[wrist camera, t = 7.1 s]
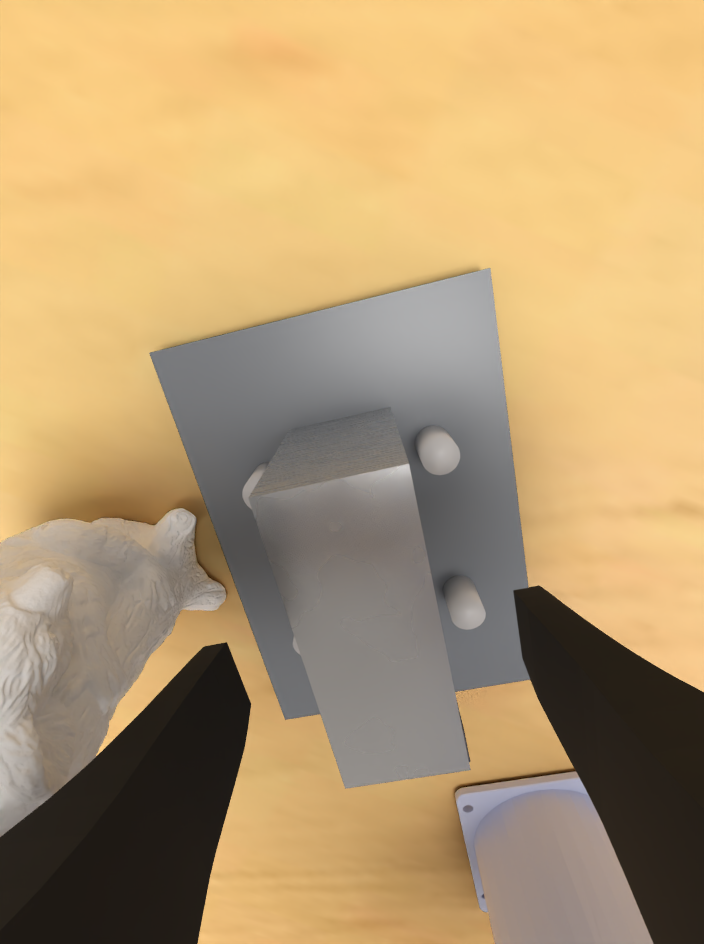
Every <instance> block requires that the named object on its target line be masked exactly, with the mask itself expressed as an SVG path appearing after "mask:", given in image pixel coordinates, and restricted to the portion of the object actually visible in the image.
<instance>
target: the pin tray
mask: <svg viewBox="0 0 704 944" xmlns="http://www.w3.org/2000/svg"><path fill="white" fill-rule="evenodd" d="M150 356H151V359H152V361H153V364H154V367H155V370H156V372H157V375H158V378H159V380H160V383H161V386H162V388H163V391H164V394H165V397H166V399H167V402H168V405H169V407H170V410H171V413H172V415H173V418H174V421H175V424H176V426H177V429H178V432H179V434H180V437H181V440H182V442H183V445H184V448H185V451H186V453H187V456H188V459H189V461H190V464H191V467H192V469H193V472H194V475H195V478H196V480H197V483H198V486H199V488H200V491H201V494H202V496H203V499H204V502H205V504H206V507H207V510H208V513H209V515H210V518H211V521H212V523H213V526H214V529H215V531H216V534H217V537H218V540H219V542H220V545H221V548H222V550H223V553H224V556H225V558H226V561H227V564H228V567H229V569H230V572H231V575H232V577H233V580H234V583H235V585H236V588H237V591H238V594H239V596H240V599H241V602H242V604H243V607H244V610H245V612H246V615H247V618H248V621H249V623H250V626H251V629H252V631H253V634H254V637H255V639H256V642H257V645H258V648H259V650H260V653H261V656H262V658H263V661H264V664H265V666H266V669H267V672H268V675H269V677H270V680H271V683H272V685H273V688H274V691H275V693H276V696H277V699H278V701H279V704H280V707H281V710H282V712H283V715H284V718H285V720H287V719H293V718H299V717H305V716H311V715H317V714H320V711H319V708H318V705H317V702H316V699H315V696H314V693H313V690H312V687H311V684H310V681H309V678H308V675H307V672H306V669H305V666H304V663H303V660H302V657H301V654H300V651H299V648H298V646H297V643H296V640H295V637H294V634H293V631H292V628H291V625H290V622H289V619H288V616H287V613H286V610H285V607H284V604H283V601H282V598H281V595H280V592H279V589H278V586H277V583H276V580H275V577H274V574H273V571H272V568H271V565H270V562H269V559H268V556H267V553H266V550H265V547H264V544H263V541H262V538H261V535H260V532H259V529H258V526H257V523H256V520H255V517H254V514H253V511H252V508H251V505H250V502H249V499H248V497H249V496H250V494H251V493H252V491H253V489H254V488H255V486H256V484H257V483H258V481H259V479H260V478H261V476H262V474H263V473H264V471H265V469H266V468H267V466H268V464H269V463H270V461H271V459H272V458H273V456H274V454H275V453H276V451H277V450H278V448H279V446H280V445H281V443H282V441H283V440H284V438H285V436H286V435H287V433H288V431H289V430H290V429H294V428H299V427H303V426H307V425H312V424H316V423H321V422H325V421H330V420H334V419H338V418H343V417H347V416H352V415H356V414H361V413H365V412H370V411H374V410H378V409H383V408H387V407H391V410H392V413H393V416H394V419H395V422H396V425H397V428H398V431H399V434H400V437H401V441H402V444H403V447H404V450H405V453H406V456H407V459H408V462H409V466H410V471H411V476H412V481H413V486H414V491H415V496H416V501H417V506H418V511H419V516H420V521H421V526H422V531H423V536H424V541H425V546H426V551H427V555H428V560H429V565H430V570H431V575H432V580H433V585H434V590H435V595H436V600H437V605H438V610H439V615H440V620H441V625H442V630H443V635H444V640H445V645H446V650H447V655H448V660H449V665H450V670H451V675H452V680H453V685H454V690H455V692H457V691H463V690H469V689H475V688H481V687H487V686H493V685H500V684H506V683H512V682H518V681H524V680H530V677H529V674H528V672H527V669H526V667H525V664H524V661H523V659H522V652H521V645H520V637H519V630H518V622H517V615H516V608H515V600H514V593H513V590H518V589H523V588H528V580H527V572H526V563H525V555H524V547H523V538H522V530H521V522H520V513H519V505H518V496H517V488H516V480H515V471H514V463H513V455H512V446H511V438H510V429H509V421H508V413H507V404H506V396H505V388H504V379H503V371H502V362H501V354H500V346H499V337H498V329H497V321H496V312H495V304H494V295H493V287H492V279H491V270H490V268H488V269H484V270H480V271H476V272H472V273H468V274H464V275H460V276H456V277H452V278H448V279H444V280H440V281H436V282H432V283H428V284H424V285H420V286H416V287H412V288H408V289H404V290H400V291H396V292H392V293H388V294H384V295H380V296H376V297H372V298H368V299H364V300H360V301H356V302H352V303H348V304H344V305H340V306H336V307H332V308H328V309H324V310H320V311H316V312H312V313H308V314H304V315H300V316H296V317H292V318H288V319H284V320H280V321H276V322H272V323H268V324H264V325H260V326H256V327H252V328H247V329H243V330H239V331H235V332H231V333H227V334H223V335H219V336H215V337H211V338H207V339H203V340H199V341H195V342H191V343H187V344H183V345H179V346H175V347H171V348H167V349H163V350H159V351H155V352H151V353H150Z"/></svg>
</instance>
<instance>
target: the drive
mask: <svg viewBox="0 0 704 944" xmlns="http://www.w3.org/2000/svg"><path fill="white" fill-rule="evenodd" d="M248 499H249V502H250V505H251V508H252V511H253V514H254V517H255V520H256V523H257V526H258V529H259V532H260V535H261V538H262V541H263V544H264V547H265V550H266V553H267V556H268V559H269V562H270V565H271V568H272V571H273V574H274V577H275V580H276V583H277V586H278V589H279V592H280V595H281V598H282V601H283V604H284V607H285V610H286V613H287V616H288V619H289V622H290V625H291V628H292V631H293V634H294V637H295V640H296V643H297V646H298V648H299V651H300V654H301V657H302V660H303V663H304V666H305V669H306V672H307V675H308V678H309V681H310V684H311V687H312V690H313V693H314V696H315V699H316V702H317V705H318V708H319V711H320V714H321V717H322V720H323V723H324V726H325V729H326V732H327V735H328V738H329V741H330V744H331V747H332V750H333V753H334V756H335V759H336V762H337V765H338V768H339V771H340V774H341V777H342V780H343V783H344V786H345V789H346V788H352V787H359V786H366V785H373V784H379V783H386V782H393V781H400V780H406V779H413V778H420V777H427V776H433V775H440V774H447V773H454V772H460V771H467V770H470V765H469V762H470V758H469V753H468V748H467V743H466V738H465V733H464V728H463V724H462V720H461V716H460V712H459V708H458V704H457V700H456V695H455V690H454V685H453V680H452V675H451V670H450V665H449V660H448V655H447V650H446V645H445V640H444V635H443V630H442V625H441V620H440V615H439V610H438V605H437V600H436V595H435V590H434V585H433V580H432V575H431V570H430V565H429V560H428V555H427V551H426V546H425V541H424V536H423V531H422V526H421V521H420V516H419V511H418V506H417V501H416V496H415V491H414V486H413V481H412V476H411V471H410V466H409V462H408V459H407V456H406V453H405V450H404V447H403V444H402V441H401V437H400V434H399V431H398V428H397V425H396V422H395V419H394V416H393V413H392V410H391V407H387V408H383V409H378V410H374V411H370V412H365V413H361V414H356V415H352V416H347V417H343V418H338V419H334V420H330V421H325V422H321V423H316V424H312V425H307V426H303V427H299V428H294V429H290V430H289V431H288V433H287V435H286V436H285V438H284V440H283V441H282V443H281V445H280V446H279V448H278V450H277V451H276V453H275V454H274V456H273V458H272V459H271V461H270V463H269V464H268V466H267V468H266V469H265V471H264V473H263V474H262V476H261V478H260V479H259V481H258V483H257V484H256V486H255V488H254V489H253V491H252V493H251V494H250V496H249V497H248Z"/></svg>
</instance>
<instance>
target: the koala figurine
mask: <svg viewBox="0 0 704 944" xmlns="http://www.w3.org/2000/svg"><path fill="white" fill-rule="evenodd" d="M196 521H197V520H196V517H195V516H194V515H193V514H192V513H191V512H189V511H187V510H185V509H184V508H178V509H174V510H171V511H170V512H167V513H166V515H165V516H164V517H163V518H162V519H161V520H160V521H159V522H158V523H157V524H156V525H149V524H147V523H142V522H137V521H128V520H124V519H122V518H100V519H99V520H95V521H93V522H91V523H89V522H85V521H82V520H77V519H67V518H66V519H57V520H52V521H47V522H45V523H43V524H41V525H39V526H37V527H32V528H31V529H28V530H26V531H24V532H21V533H19V534H17V535H14V536H12V537H9V538H7V539H5V540H3V541H2V542H0V837H1V836H2V835H3V834H5V833H6V832H7V831H8V830H10V829H11V828H12V827H14V826H15V825H16V824H17V823H19V822H20V821H21V820H22V819H24V818H25V817H26V816H28V815H29V814H30V813H31V812H33V811H34V810H35V809H36V808H38V807H39V806H40V805H41V804H43V803H44V802H45V801H46V800H48V799H49V798H50V797H51V796H52V795H54V794H55V793H56V792H57V791H58V790H59V789H61V788H62V787H63V786H64V785H65V784H66V783H67V782H69V781H70V780H71V779H72V778H73V777H74V776H76V775H77V774H78V773H79V772H80V771H81V770H82V769H83V768H84V767H86V766H87V765H88V764H89V763H90V762H91V761H92V760H93V759H94V758H95V757H96V754H97V753H98V750H99V748H100V746H101V744H102V743H103V741H104V738H105V736H106V735H107V731H108V728H109V721H110V720H111V718H112V716H113V714H114V712H115V709H116V706H117V704H118V703H119V701H120V700H121V699H122V698H123V697H124V696H125V694H126V693H127V691H128V690H129V689H130V688H131V686H132V684H133V683H134V682H135V681H136V680H137V679H138V677H139V675H140V674H141V672H142V670H143V668H144V665H145V663H146V661H147V660H148V658H149V656H150V655H151V654H152V653H153V652H154V651H155V650H156V649H157V648H158V647H159V646H160V645H161V644H162V643H163V642H164V640H165V639H166V637H167V636H169V635H170V634H171V632H172V630H173V627H174V625H175V621H176V618H177V617H178V615H179V613H180V611H181V610H183V609H185V610H204V611H211V610H212V611H213V610H216V609H218V608H219V605H221V604H222V603H223V602H224V601H225V599H226V596H227V595H226V591H225V588H224V587H223V586H222V584H220V583H218V582H217V581H214V580H212V579H211V578H208V576H207V574H206V572H205V571H204V570H203V568H202V567H201V566H199V564H198V563H197V559H196V553H195V545H194V538H195V525H196Z"/></svg>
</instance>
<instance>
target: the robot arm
mask: <svg viewBox="0 0 704 944" xmlns="http://www.w3.org/2000/svg"><path fill="white" fill-rule="evenodd" d="M513 593H514V600H515V608H516V615H517V622H518V630H519V637H520V645H521V652H522V659H523V661H524V664H525V667H526V669H527V672H528V674H529V677H530V680H531V682H532V685H533V687H534V690H535V692H536V695H537V697H538V700H539V702H540V703H541V705H542V707H543V709H544V711H545V713H546V715H547V717H548V719H549V721H550V723H551V725H552V727H553V728H554V730H555V732H556V734H557V736H558V738H559V740H560V742H561V744H562V746H563V747H564V749H565V751H566V753H567V755H568V757H569V759H570V761H571V763H572V765H573V766H574V768H575V770H576V771H574V772H567V773H560V774H553V775H546V776H539V777H532V778H525V779H518V780H511V781H504V782H498V783H491V784H484V785H477V786H470V787H463V788H460V789H458V790H457V791H456V793H455V799H456V804H457V808H458V813H459V817H460V822H461V826H462V831H463V835H464V840H465V844H466V849H467V853H468V858H469V862H470V867H471V871H472V876H473V880H474V885H475V889H476V894H477V898H478V903H479V907H480V909H481V910H482V911H484V912H488V914H489V919H490V924H491V928H492V933H493V938H494V942H495V944H704V692H702V691H700V690H698V689H696V688H695V687H693V686H691V685H689V684H687V683H685V682H683V681H681V680H679V679H678V678H676V677H674V676H672V675H670V674H669V673H667V672H665V671H663V670H662V669H660V668H658V667H656V666H655V665H653V664H651V663H650V662H648V661H647V660H645V659H643V658H642V657H640V656H638V655H637V654H635V653H634V652H632V651H630V650H629V649H627V648H626V647H624V646H623V645H621V644H620V643H618V642H617V641H615V640H614V639H612V638H611V637H609V636H608V635H606V634H605V633H604V632H602V631H601V630H599V629H598V628H596V627H595V626H593V625H592V624H591V623H589V622H588V621H586V620H585V619H584V618H582V617H581V616H579V615H578V614H577V613H575V612H574V611H573V610H571V609H570V608H569V607H567V606H566V605H565V604H563V603H562V602H561V601H559V600H558V599H557V598H555V597H554V596H553V595H551V594H550V593H549V592H548V591H546V590H545V589H543V588H542V587H540V586H534V587H529V588H523V589H518V590H513ZM250 708H251V703H250V700H249V698H248V695H247V693H246V690H245V687H244V685H243V682H242V680H241V677H240V675H239V672H238V670H237V667H236V665H235V662H234V660H233V657H232V654H231V652H230V649H229V647H228V644H227V643H221V644H216V645H210V646H205V647H203V648H202V649H201V650H200V651H199V652H198V653H197V654H196V655H195V656H194V657H193V658H192V659H191V660H190V661H189V662H188V663H187V664H186V665H185V666H184V667H183V668H182V670H181V671H180V672H179V673H178V674H177V675H176V676H175V677H174V678H173V679H172V680H171V681H170V682H169V683H168V685H167V686H166V687H165V688H164V689H163V690H162V691H161V692H160V693H159V694H158V695H157V696H156V697H155V698H154V699H153V700H152V701H151V703H150V704H149V705H148V706H147V707H146V708H145V709H144V710H143V711H142V712H141V713H140V714H139V715H138V716H137V717H136V718H135V719H134V720H133V721H132V722H131V723H130V724H129V725H128V726H127V727H126V728H125V729H124V730H123V731H122V732H121V733H120V734H119V735H118V736H117V737H116V738H115V739H114V740H113V741H112V742H111V743H110V744H109V745H108V746H107V747H106V748H105V749H104V750H103V751H102V752H101V753H100V754H99V755H98V756H96V757H95V758H94V759H93V760H92V761H91V762H90V763H89V764H88V765H87V766H86V767H84V768H83V769H82V770H81V771H80V772H79V773H78V774H77V775H76V776H74V777H73V778H72V779H71V780H70V781H69V782H67V783H66V784H65V785H64V786H63V787H62V788H61V789H59V790H58V791H57V792H56V793H55V794H54V795H52V796H51V797H50V798H49V799H48V800H46V801H45V802H44V803H43V804H41V805H40V806H39V807H38V808H36V809H35V810H34V811H33V812H31V813H30V814H29V815H28V816H26V817H25V818H24V819H22V820H21V821H20V822H19V823H17V824H16V825H15V826H14V827H12V828H11V829H10V830H8V831H7V832H6V833H5V834H3V835H2V836H1V837H0V944H197V943H198V937H199V931H200V926H201V921H202V916H203V910H204V905H205V900H206V894H207V889H208V884H209V879H210V874H211V870H212V866H213V862H214V857H215V853H216V849H217V846H218V842H219V839H220V835H221V831H222V828H223V824H224V821H225V817H226V814H227V810H228V806H229V803H230V799H231V796H232V792H233V788H234V785H235V781H236V778H237V774H238V770H239V766H240V763H241V759H242V755H243V751H244V747H245V742H246V736H247V730H248V723H249V715H250Z"/></svg>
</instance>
